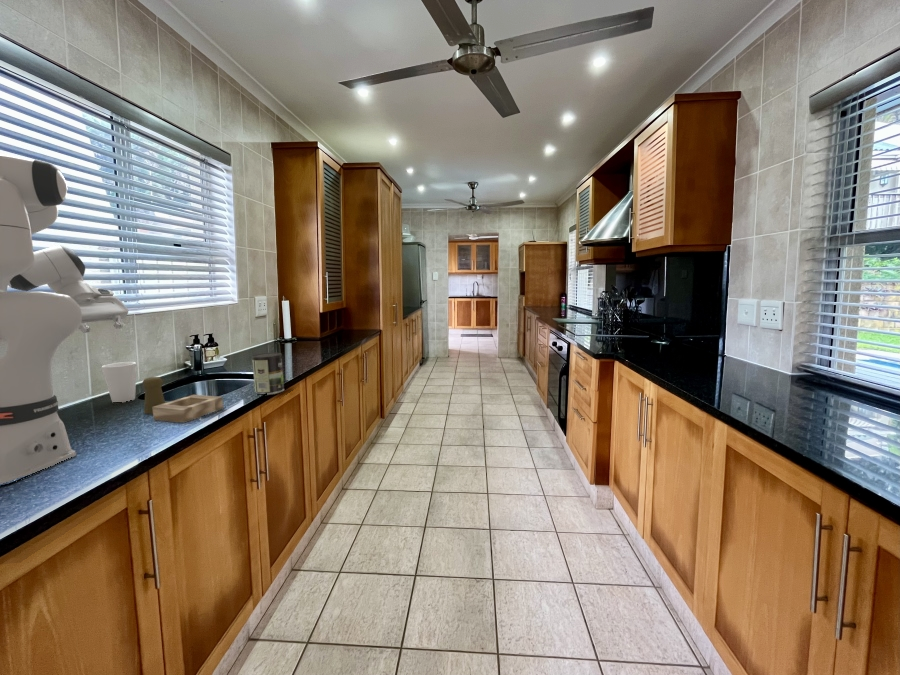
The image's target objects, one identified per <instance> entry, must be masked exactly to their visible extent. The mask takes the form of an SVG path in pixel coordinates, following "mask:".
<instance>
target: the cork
mask: <svg viewBox="0 0 900 675" xmlns="http://www.w3.org/2000/svg"><path fill="white" fill-rule="evenodd" d="M162 385H163V379H162V378H161V377H159V376H151V377H147V378H144V379H143V381H142V387H143V388H144V389H145V390H144V412H143V413H144V414H147V415H153V409H152V407H154V406H157V405H161V404H164V403H166V400H165V397H164V393H163V390H162Z"/></svg>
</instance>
